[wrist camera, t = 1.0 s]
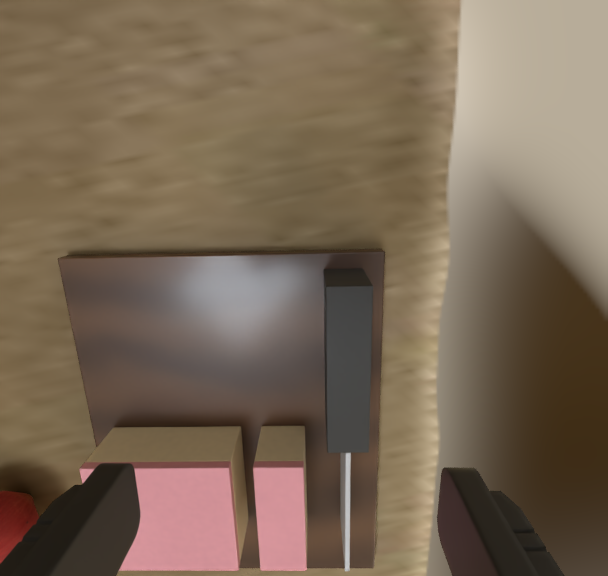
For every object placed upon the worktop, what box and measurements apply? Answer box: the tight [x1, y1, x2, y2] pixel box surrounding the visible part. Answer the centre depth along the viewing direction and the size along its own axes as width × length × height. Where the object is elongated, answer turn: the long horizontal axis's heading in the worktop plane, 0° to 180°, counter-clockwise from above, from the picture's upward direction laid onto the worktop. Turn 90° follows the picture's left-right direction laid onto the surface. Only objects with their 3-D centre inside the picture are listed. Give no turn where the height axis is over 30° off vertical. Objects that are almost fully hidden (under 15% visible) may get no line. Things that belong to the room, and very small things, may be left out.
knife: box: [324, 268, 373, 571], centre depth 23 cm, size 19×2×4 cm, turn 2°
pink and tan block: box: [253, 426, 307, 571], centre depth 25 cm, size 8×3×4 cm, turn 1°
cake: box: [80, 426, 248, 571], centre depth 25 cm, size 8×9×4 cm
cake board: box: [58, 249, 385, 568], centre depth 27 cm, size 25×20×1 cm
